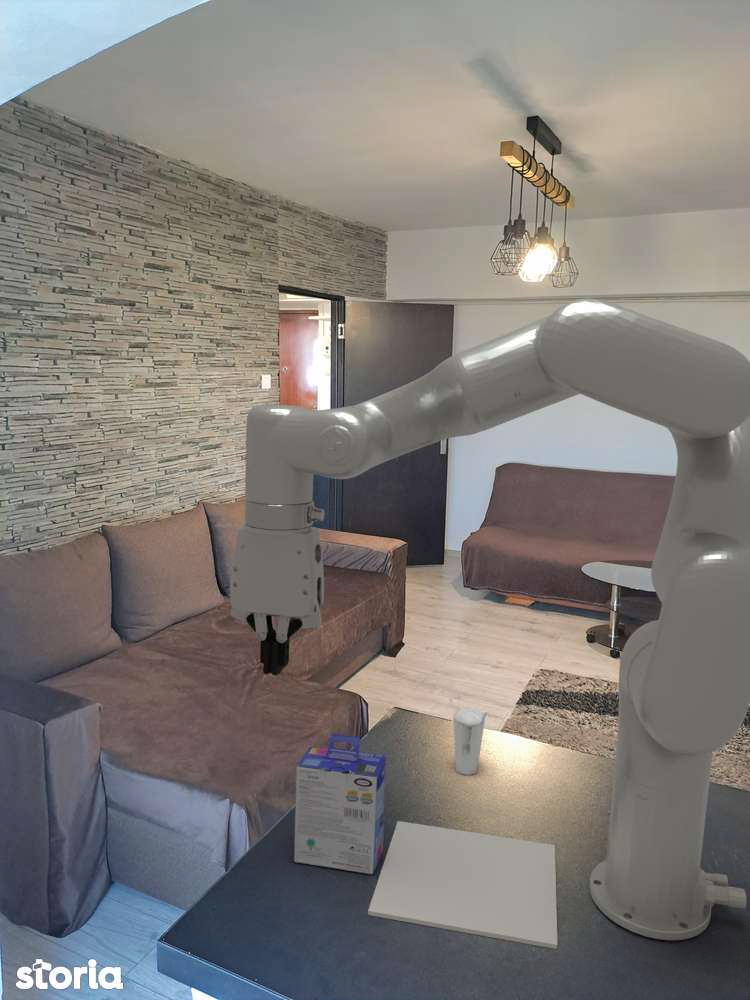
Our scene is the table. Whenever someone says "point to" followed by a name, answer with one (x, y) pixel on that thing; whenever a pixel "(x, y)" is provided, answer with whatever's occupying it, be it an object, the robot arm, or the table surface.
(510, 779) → the table surface
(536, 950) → the table surface
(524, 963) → the table surface
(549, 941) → the mat
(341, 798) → the ink cartridge box
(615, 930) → the table surface
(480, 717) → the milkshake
